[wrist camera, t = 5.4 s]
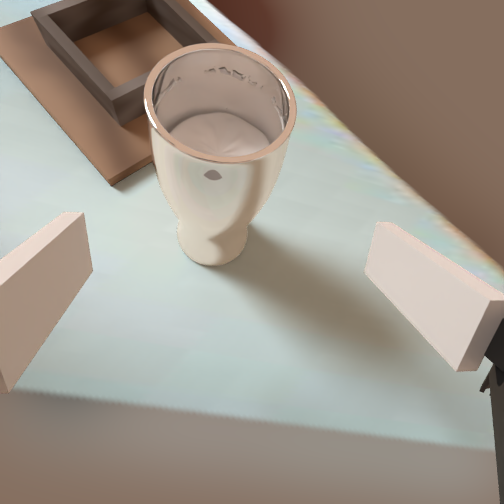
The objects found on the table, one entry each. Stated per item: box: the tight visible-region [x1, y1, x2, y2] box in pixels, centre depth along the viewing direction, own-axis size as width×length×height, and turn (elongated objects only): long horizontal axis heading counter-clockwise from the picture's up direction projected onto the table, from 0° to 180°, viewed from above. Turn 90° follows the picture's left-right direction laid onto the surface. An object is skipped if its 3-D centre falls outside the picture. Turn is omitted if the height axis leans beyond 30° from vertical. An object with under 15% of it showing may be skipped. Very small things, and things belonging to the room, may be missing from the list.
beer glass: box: [144, 43, 297, 266], centre depth 20 cm, size 7×7×15 cm
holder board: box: [0, 0, 236, 186], centre depth 30 cm, size 20×20×4 cm
